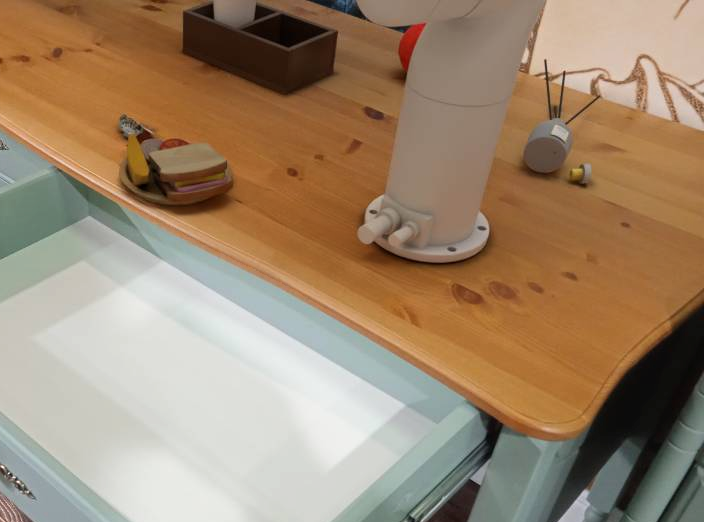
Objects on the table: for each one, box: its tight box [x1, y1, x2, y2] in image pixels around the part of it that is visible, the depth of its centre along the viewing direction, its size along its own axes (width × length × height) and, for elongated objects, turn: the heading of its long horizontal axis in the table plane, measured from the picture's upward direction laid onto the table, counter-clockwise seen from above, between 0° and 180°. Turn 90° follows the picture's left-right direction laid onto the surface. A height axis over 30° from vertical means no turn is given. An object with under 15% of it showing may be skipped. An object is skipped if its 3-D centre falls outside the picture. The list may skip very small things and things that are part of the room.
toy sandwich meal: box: [118, 134, 234, 206], centre depth 94 cm, size 12×14×5 cm
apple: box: [397, 23, 427, 74], centre depth 114 cm, size 8×8×7 cm
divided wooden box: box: [182, 0, 339, 96], centre depth 118 cm, size 10×19×6 cm, turn 44°
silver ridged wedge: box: [118, 113, 156, 138], centre depth 104 cm, size 6×2×3 cm
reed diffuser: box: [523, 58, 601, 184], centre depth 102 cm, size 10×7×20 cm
